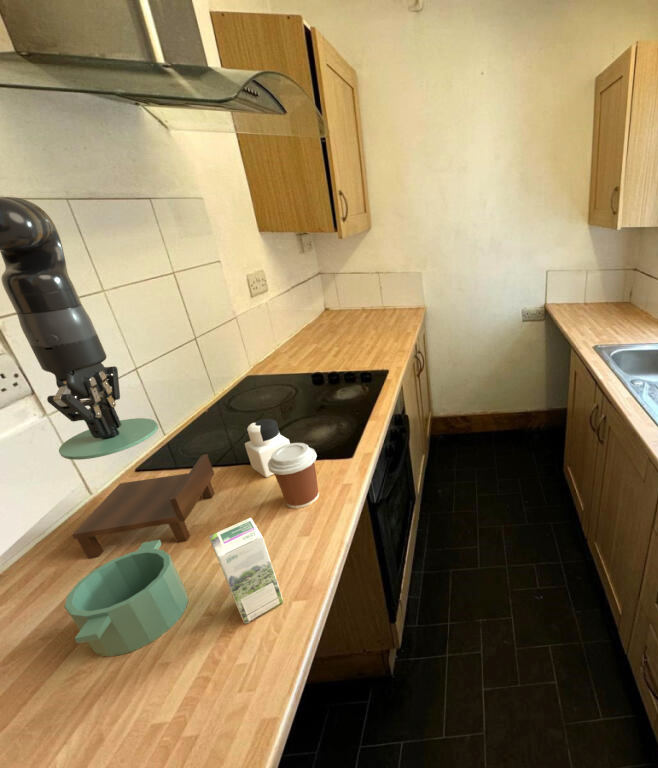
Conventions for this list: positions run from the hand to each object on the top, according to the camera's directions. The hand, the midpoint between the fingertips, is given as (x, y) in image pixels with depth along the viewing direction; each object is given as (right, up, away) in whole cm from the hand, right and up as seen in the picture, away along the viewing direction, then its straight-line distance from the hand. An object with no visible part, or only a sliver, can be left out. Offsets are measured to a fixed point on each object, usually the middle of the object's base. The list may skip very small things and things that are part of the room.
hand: (108, 431), depth 72 cm
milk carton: (+30, -27, -5) cm, 40 cm away
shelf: (-1, -20, +12) cm, 23 cm away
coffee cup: (+25, -17, +18) cm, 35 cm away
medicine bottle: (+12, -12, +29) cm, 34 cm away
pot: (+13, -28, -7) cm, 32 cm away
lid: (0, -1, +1) cm, 1 cm away
